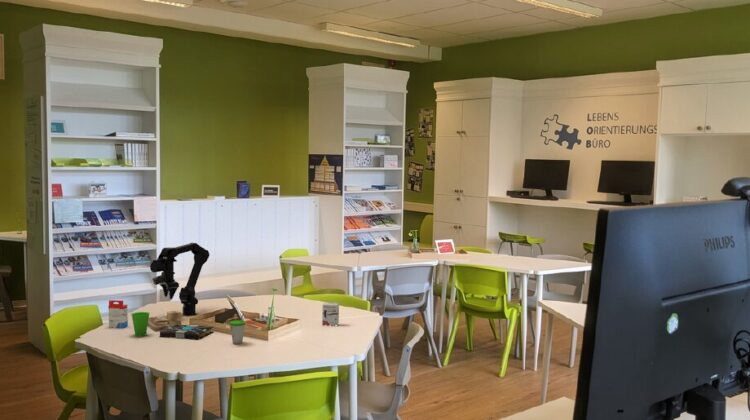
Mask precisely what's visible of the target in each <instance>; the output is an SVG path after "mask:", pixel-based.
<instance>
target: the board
mask: <svg viewBox="0 0 750 420" xmlns="http://www.w3.org/2000/svg"><path fill="white" fill-rule="evenodd" d="M156 320H162V319H161V318H159V317H157V316H152V317H151V316H149V319H148V325H147V328H150V329H151V330H152V331H154V332H160V331H163V330H166V329H168V327H171V326H170V325H169V324H167V322H164V323H157V325H156V324H155V323H154V321H156Z"/></svg>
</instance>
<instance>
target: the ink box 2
mask: <svg viewBox="0 0 750 420" xmlns="http://www.w3.org/2000/svg"><path fill="white" fill-rule="evenodd" d="M339 311H340V304H339V302H323V304H322V317H321V318H322V321H321V323H322V324H321V325H338V326H339V324H338V323H339V321H340V319H339V317H340V316H339V315H340V312H339Z"/></svg>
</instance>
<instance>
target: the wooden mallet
mask: <svg viewBox="0 0 750 420" xmlns="http://www.w3.org/2000/svg"><path fill="white" fill-rule="evenodd" d="M164 322H166V323H167V324H169V325H170V326H171V327H173V326H175V325H177V324H179V325H182V311H180V310H171V311H167V313H166V319H161V320H156V321H154V323H155V324H156V325H157V323H164Z"/></svg>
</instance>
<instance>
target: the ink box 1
mask: <svg viewBox="0 0 750 420" xmlns="http://www.w3.org/2000/svg"><path fill="white" fill-rule="evenodd" d="M128 312H129V310H128V304H124V300H115V299H113V300H111V299H110V300H108V328H109V327H116V328H115V329H124V328H127V327H128V326H129V323H128V322H129V321H128V318H129V317H128V316H129V315H128V314H129V313H128Z"/></svg>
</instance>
